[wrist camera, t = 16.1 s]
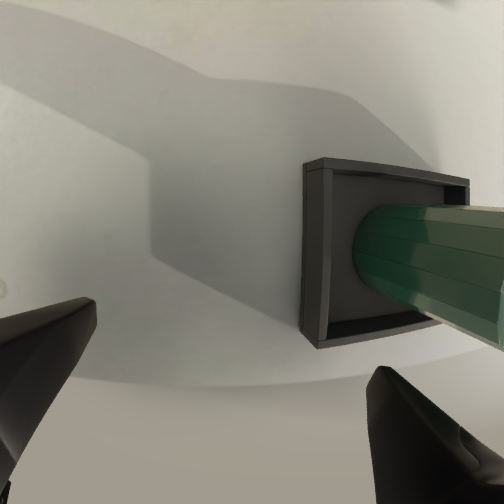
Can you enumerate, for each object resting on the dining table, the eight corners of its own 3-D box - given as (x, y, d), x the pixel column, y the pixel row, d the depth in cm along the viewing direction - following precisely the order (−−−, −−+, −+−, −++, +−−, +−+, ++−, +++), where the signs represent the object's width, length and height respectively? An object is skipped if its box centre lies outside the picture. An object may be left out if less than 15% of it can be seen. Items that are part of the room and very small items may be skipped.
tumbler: (374, 308, 21) (501, 378, 10) (336, 236, 20) (488, 272, 8) (429, 257, 22) (556, 291, 10) (399, 187, 20) (544, 185, 9)
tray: (434, 309, 24) (458, 319, 21) (298, 331, 21) (316, 349, 18) (443, 180, 22) (469, 179, 19) (302, 163, 19) (323, 157, 16)
